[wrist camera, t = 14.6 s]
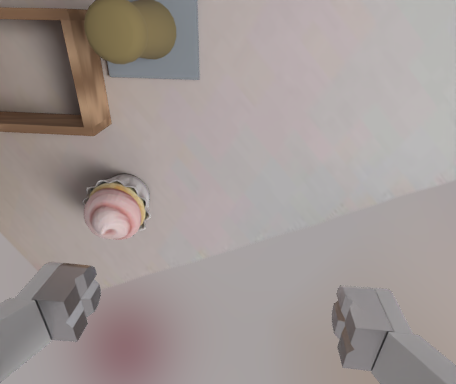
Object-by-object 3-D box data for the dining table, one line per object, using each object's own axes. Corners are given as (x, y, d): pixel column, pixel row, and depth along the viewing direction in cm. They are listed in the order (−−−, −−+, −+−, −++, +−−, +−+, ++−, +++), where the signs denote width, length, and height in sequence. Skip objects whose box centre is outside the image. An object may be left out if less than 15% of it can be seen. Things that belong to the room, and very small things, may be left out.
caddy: (-58, 7, 36) (-102, 5, 31) (91, 10, 34) (67, 8, 30) (-16, 117, 42) (-48, 129, 38) (111, 123, 41) (93, 135, 36)
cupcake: (118, 224, 49) (87, 268, 40) (87, 173, 45) (46, 210, 36) (170, 210, 47) (150, 254, 38) (143, 156, 43) (114, 191, 34)
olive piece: (116, 41, 35) (63, 47, 26) (135, -14, 33) (83, -31, 23) (163, 69, 36) (129, 85, 27) (185, 18, 34) (156, 15, 24)
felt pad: (93, -34, 32) (91, -35, 32) (196, -33, 32) (195, -34, 31) (111, 76, 38) (109, 76, 37) (199, 79, 37) (198, 79, 37)
